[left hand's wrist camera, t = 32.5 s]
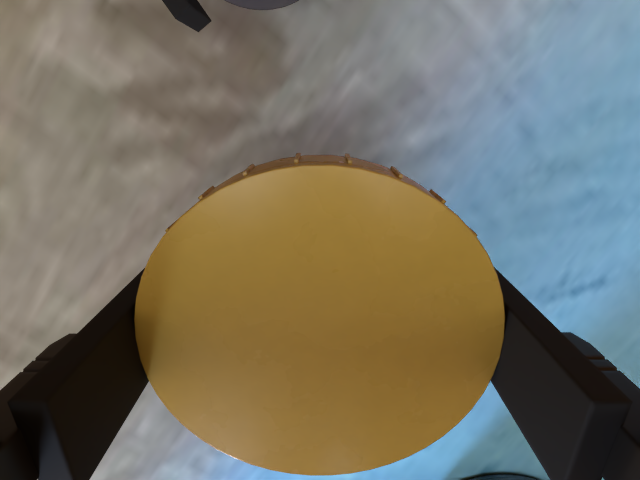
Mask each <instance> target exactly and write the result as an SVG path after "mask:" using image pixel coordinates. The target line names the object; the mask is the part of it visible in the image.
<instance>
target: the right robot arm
mask: <svg viewBox="0 0 640 480" xmlns="http://www.w3.org/2000/svg"><path fill="white" fill-rule="evenodd" d="M162 1H163V2H164V3H165V5H166V6H167V8H168V9H169V10H170V12H171V13H172V15H173V16H174V17H175V19H177V20H178V21H180V22H182V23H184V24H185V25H187V26H189V27H191V28H192V29H194V30H196V31H197V32H199V31H200V30H202V29H203V28H204V27H205V26H206V25H207V24H209V23H210V22H211V19H210V18H209V17H208V15H207V14H206V12H205V11H204V9H203V8H202V6H201V5H200V4H199V2H198V1H197V0H162Z"/></svg>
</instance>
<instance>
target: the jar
mask: <svg viewBox="0 0 640 480" xmlns="http://www.w3.org/2000/svg"><path fill="white" fill-rule="evenodd" d="M225 1H227V2H229V3H232V4H234V5H237V6H240V7H244V8H248V9H256V10H269V9H276V8H280V7H284V6H287V5H290V4H292V3H295V2H296V1H298V0H225Z"/></svg>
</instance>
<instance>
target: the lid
mask: <svg viewBox="0 0 640 480" xmlns="http://www.w3.org/2000/svg"><path fill="white" fill-rule="evenodd" d="M198 198H199V199H200V201H199V202H197V203H196V204H195V205H194V206H193V207H192V208H190V209H189V210H188V211H187V212H186V213H185V214H183V215H182V216H181V217H180V218H179V219H178V220H176V221H175V222H174V223H173V224H172V225H171V226H169V227H168V228H167V229H166V234H165V235H164V236H163V237H162V239H161V240H160V242H159V243H158V245H157V247H156V248H155V250H154V251H153V253H152V254H151V256H150V258H149V260H148V263H147V265H146V267H145V270H144V272H143V274H142V277H141V280H140V284H139V288H138V292H137V296H136V305H135V316H134V323H135V337H136V342H137V346H138V351H139V355H140V360H141V363H142V365H143V368H144V370H145V373H146V375H147V378H148V380H149V381H150V383H151V385H152V387H153V388H154V390H155V392H156V394H157V395H158V397H159V398H160V399H161V401H162V402H163V403H164V405H165V406H166V407H167V409H168V410H169V411H170V412H171V413H172V414H173V415H174V416H175V417H176V418H177V419H178V420H179V422H180V423H181V424H182V425H183V426H185V427H186V428H187V429H188V430H190V431H191V432H192V433H193V434H195V435H196V436H197V437H198V438H200V439H201V440H203V441H204V442H206V443H207V444H209V445H211V446H212V447H214V448H215V449H217V450H219V451H221V452H223V453H225V454H227V455H229V456H231V457H233V458H236V459H238V460H241V461H243V462H246V463H249V464H251V465H255V466H258V467H262V468H265V469H269V470H274V471H279V472H285V473H290V474H301V475H338V474H349V473H355V472H360V471H365V470H371V469H374V468H378V467H381V466H384V465H388V464H391V463H394V462H396V461H399V460H401V459H404V458H406V457H409V456H410V455H412V454H414V453H416V452H418V451H420V450H422V449H424V448H426V447H427V446H429V445H430V444H432V443H433V442H435V441H436V440H438V439H440V438H441V437H443V436H444V435H445V434H446V433H447V432H449V431H450V430H451V429H452V428H453V427H455V426H456V425H457V424H458V423H459V422H460V421H461V420H462V419H463V418H464V417H465V416H466V415H467V414H468V413H469V411H470V410H471V409H472V408H473V407H474V405H475V404H476V403H477V401H478V400H479V398H480V397H481V396H482V394H483V393H484V391H485V389H486V387H487V386H488V384H489V382H490V380H491V378H492V376H493V374H494V371H495V369H496V366H497V363H498V361H499V358H500V354H501V349H502V344H503V340H504V328H505V311H504V302H503V294H502V291H501V287H500V283H499V280H498V276H497V273H496V271H495V269H494V267H493V264H492V262H491V260H490V258H489V256H488V254H487V252H486V251H485V249H484V248H483V246H482V245H481V243H480V242H479V240H478V239H477V234H476V233H475V232H474V231H473V230H471V229H470V228H469V227H468V226H467V225H466V224H465V223H464V222H463V221H462V220H461V219H460V218H459V217H458V216H457V215H456V214H455V213H454V212H453V211H452V210H450V209H449V208H448V207H447V206H446V205H445V204H444V203H445V202H446V201H445V200H444V199H442V198H441V197H440V196H439V195H438V194H436V193H435V192H434V191H433V190H430V191H428V190H426V189H425V188H424V187H423V186H421V185H420V184H418V183H416V182H414V181H413V180H411V179H409V178H408V177H406V176H404V175H403V174H401V173H400V172H399V171H398V170H397V169H396V168H395V167H393V166H391V168H390V169H389V168H386V167H384V166H382V165H379V164H376V163H372V162H368V161H364V160H361V159H357V158H351V157H350V155H349V154H345V157H342V156H335V155H304V156H301V154H300V153H297V154H296V156H295V157H290V158H283V159H278V160H275V161H271V162H268V163H264V164H261V165H257V166H254V164H252V165H250V166H249V167H248V168H247V169H246V170H245V171H244V172H241V173H239V174H237V175H235V176H233V177H231V178H230V179H228V180H227V181H225V182H223V183H222V184H220V185H218V186H217V187H214V186H212V187H210V188H209V189H208V190H207V191H206V192H204V193H203V194H202V195H201V196H199V197H198Z"/></svg>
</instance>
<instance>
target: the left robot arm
mask: <svg viewBox="0 0 640 480" xmlns="http://www.w3.org/2000/svg"><path fill="white" fill-rule="evenodd" d="M494 269H495V268H494ZM144 270H145V268H144V269H143V270H142V271H141V272H140V273H139V274H138V275H137V276H136V277H135V278H134V279H133V280H132V281H131V282H130V283H129V284H128V285H127V286H126V287H125V288H124V289H123V290H122V291H121V292H120V293H119V294H118V295H117V296H115V297H114V298H113V299H112V300H111V301H110V302H109V303H108V304H107V305H106V306H105V307H104V308H103V309H102V310H101V311H100V312H99V313H98V314H97V315H96V316H95V317H94V318H93V319H92V320H91V321H90V322H89V323H88V324H87V325H86V326H85V327H84V328H83V329H82V330H81V331H79V332H78V333H77V334H68V335H66V336H65V337H63V338H61V339H59V340H58V341H56V342H54V343H53V344H51V345H49V346H48V347H47V348H46V349H45V350H44V351H43V352H42V353H41V354H40V355H39V356H37V357H36V360H35V361H32V362H31V363H30V364H29V365H28V366H27V367H25V368H24V369H23V372H20V373H19V374H18V375H17V376H16V377H15V378H13V379H12V380H11V381H10V382H9V383H8V384H7V385H6V386H5V387H4V388H3V389H1V390H0V480H37V479H38V480H89V479H90V478H91V476H92V474H93V473H94V471H95V469H96V468H97V466H98V464H99V463H100V461H101V459H102V458H103V456H104V454H105V453H106V451H107V450H108V448H109V446H110V445H111V443H112V441H113V440H114V438H115V436H116V435H117V433H118V431H119V430H120V428H121V426H122V425H123V423H124V421H125V420H126V418H127V416H128V415H129V413H130V411H131V410H132V408H133V406H134V405H135V403H136V401H137V400H138V398H139V396H140V395H141V393H142V392H143V390H144V388H145V387H146V385H147V383H148V382H149V380H148V378H147V375H146V373H145V370H144V368H143V365H142V363H141V360H140V355H139V351H138V346H137V342H136V337H135V323H134V316H135V305H136V296H137V292H138V288H139V284H140V280H141V277H142V274H143V272H144ZM495 271H496V273H497V276H498V280H499V283H500V287H501V291H502V294H503V302H504V311H505V328H504V340H503V344H502V349H501V354H500V358H499V361H498V363H497V366H496V369H495V371H494V374H493V376H492V378H491V382H492V384H493V385H494V387H495V389H496V390H497V392H498V394H499V395H500V397H501V399H502V400H503V402H504V404H505V405H506V407H507V408H508V410H509V412H510V413H511V415H512V417H513V418H514V420H515V422H516V423H517V425H518V427H519V428H520V430H521V432H522V433H523V435H524V437H525V438H526V440H527V442H528V443H529V445H530V447H531V448H532V450H533V452H534V453H535V455H536V457H537V458H538V460H539V462H540V463H541V465H542V466H543V468H544V470H545V471H546V473H547V475H548V476H549V478H550V480H601V479H602V477H603V478H604V480H640V389H639V388H638V387H637V386H636V385H635V384H634V383H633V382H632V381H631V380H629V379H628V378H627V377H626V376H625V375H624V374H623V373H622V372H621V371H617V368H616V367H615V366H614V365H613V364H612V363H611V362H610V361H609V360H605V357H604V356H603V355H602V354H601V353H600V352H599V351H598V350H596V349H595V348H594V347H593V346H592V345H591V344H590V343H588V342H586V341H585V340H583V339H581V338H579V337H578V336H576V335H574V334H572V333H571V332H560V331H559V330H558V329H557V328H556V327H555V326H554V325H553V324H552V323H551V322H550V321H549V320H548V319H547V318H546V317H545V316H544V315H543V314H542V313H541V312H540V311H539V310H538V309H537V308H536V307H535V306H534V305H532V304H531V303H530V302H529V301H528V300H527V299H526V298H525V297H524V296H523V295H522V294H521V293H520V292H519V291H518V290H517V289H516V288H515V287H514V286H513V285H512V284H511V283H510V282H509V281H508V280H507V279H506V278H505V277H504V276H503V275H502V274H501V273H500V272H499V271H498V270H496V269H495ZM469 480H536V479H533V478H529V477H524V476H518V475H489V476H483V477H477V478H473V479H469Z"/></svg>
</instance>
